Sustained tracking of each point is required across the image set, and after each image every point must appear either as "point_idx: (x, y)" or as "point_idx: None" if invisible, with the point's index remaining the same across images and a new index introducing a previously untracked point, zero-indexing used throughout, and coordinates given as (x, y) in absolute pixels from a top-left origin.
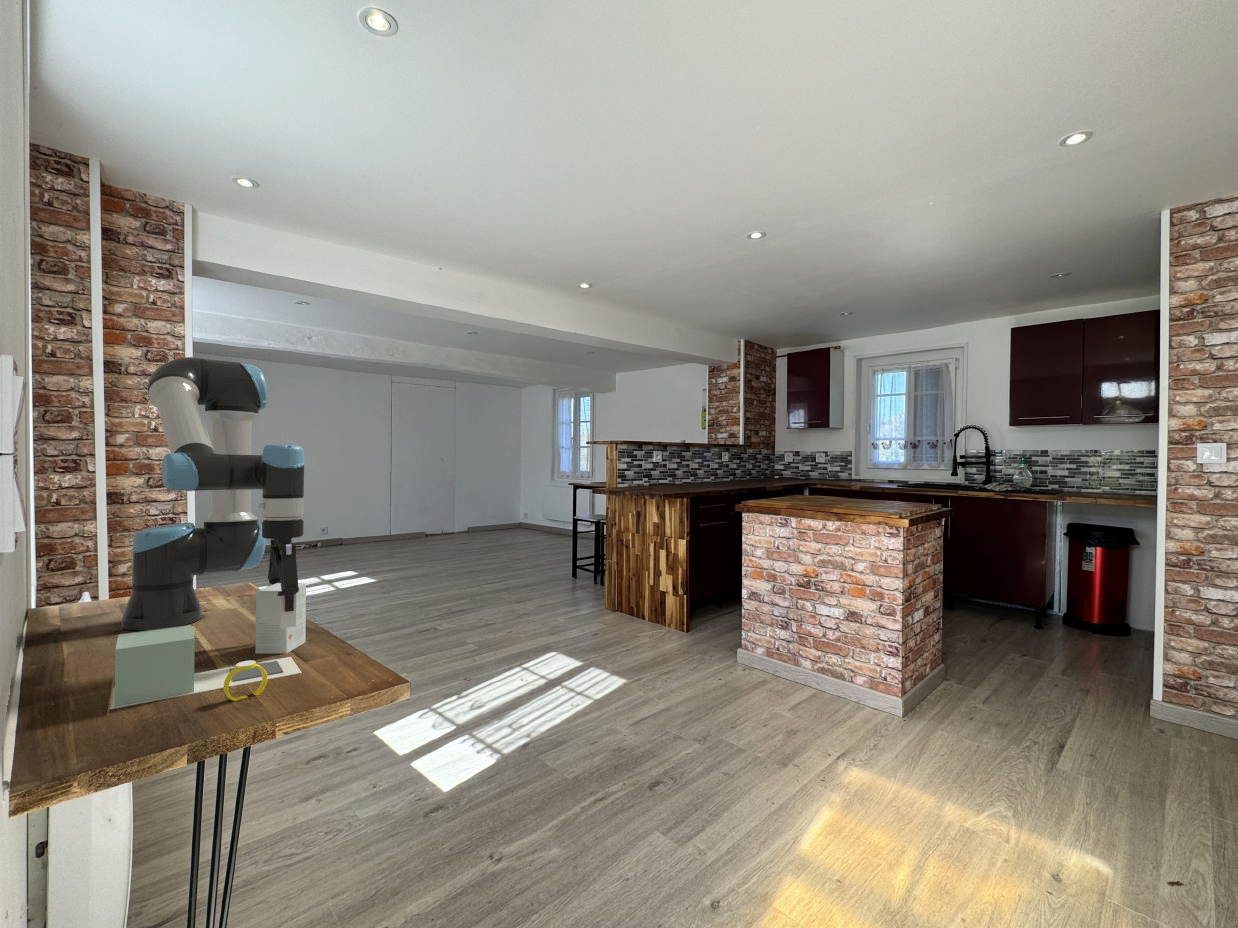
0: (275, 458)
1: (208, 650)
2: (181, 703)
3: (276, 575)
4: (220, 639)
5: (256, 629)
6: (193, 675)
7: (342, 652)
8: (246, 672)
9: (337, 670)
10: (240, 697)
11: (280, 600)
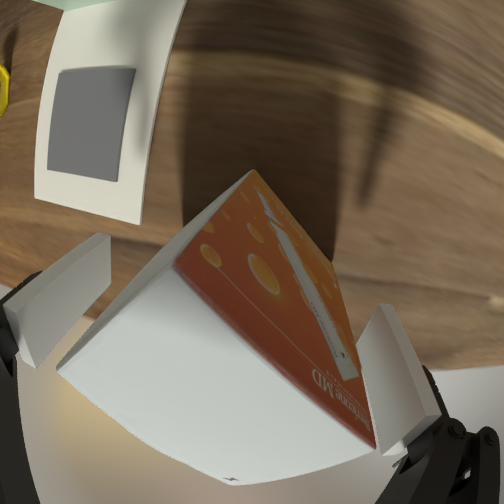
0: None
1: (419, 101)
2: None
3: (401, 488)
4: (489, 182)
5: (236, 184)
6: (46, 3)
7: None
8: (80, 100)
9: (30, 250)
10: (5, 84)
11: (27, 292)
